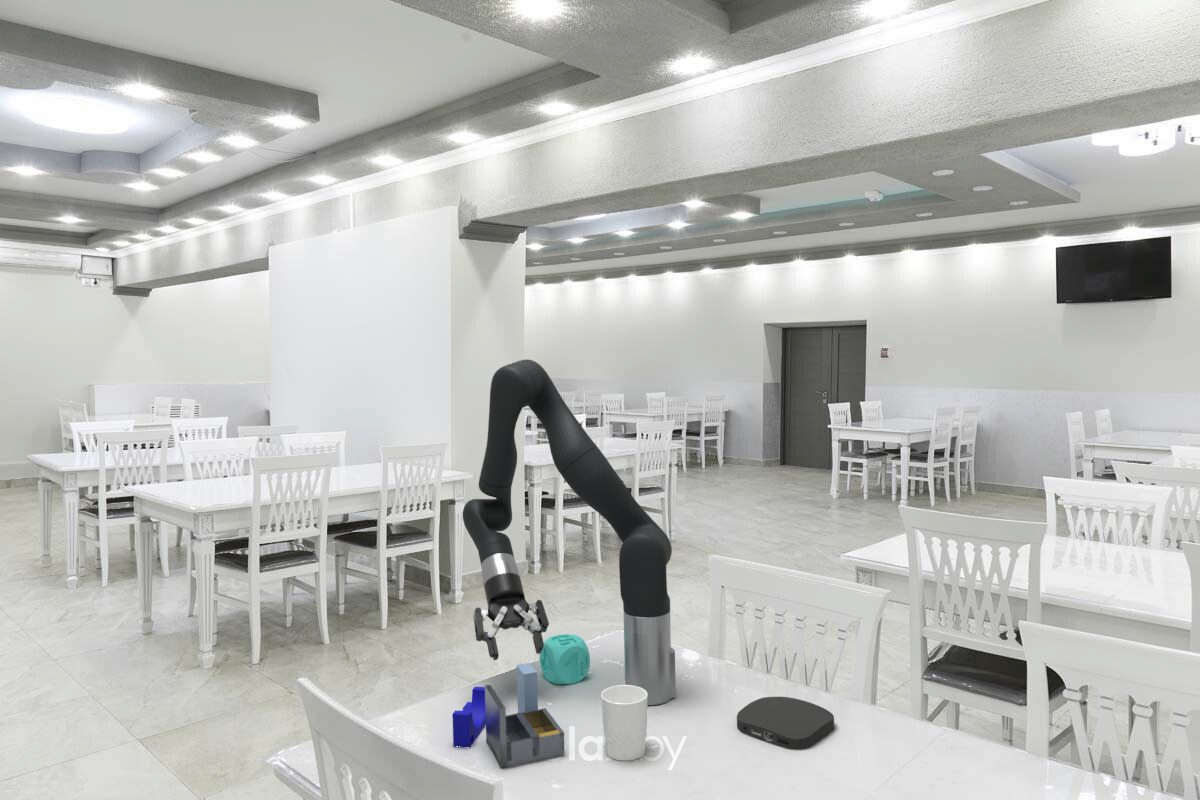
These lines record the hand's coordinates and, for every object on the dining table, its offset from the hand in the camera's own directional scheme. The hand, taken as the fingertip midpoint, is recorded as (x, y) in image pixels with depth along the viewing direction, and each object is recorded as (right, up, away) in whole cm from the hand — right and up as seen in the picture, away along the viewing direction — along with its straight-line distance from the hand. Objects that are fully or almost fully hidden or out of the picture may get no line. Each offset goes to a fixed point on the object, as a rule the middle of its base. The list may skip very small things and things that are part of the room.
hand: (518, 655), depth 155 cm
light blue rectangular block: (+2, -11, -5) cm, 12 cm away
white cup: (+20, -11, -17) cm, 29 cm away
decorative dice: (+8, -10, +15) cm, 20 cm away
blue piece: (-8, -12, -9) cm, 16 cm away
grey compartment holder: (+3, -11, -16) cm, 19 cm away
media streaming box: (+49, -11, -9) cm, 51 cm away
